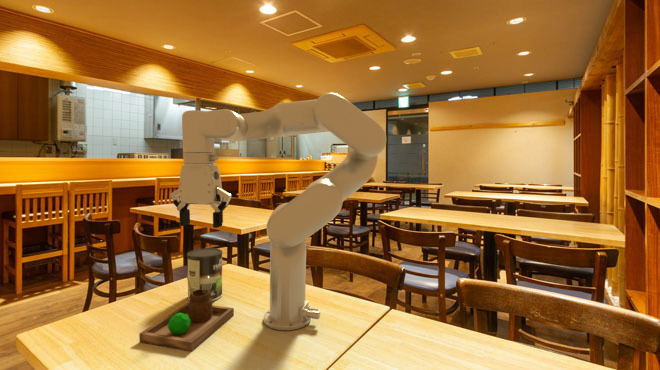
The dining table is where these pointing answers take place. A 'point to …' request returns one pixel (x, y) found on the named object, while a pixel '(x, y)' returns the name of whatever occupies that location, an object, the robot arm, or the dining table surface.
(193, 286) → the coffee can
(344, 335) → the dining table surface
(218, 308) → the tray
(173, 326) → the polyhedron
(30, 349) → the dining table surface
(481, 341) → the dining table surface
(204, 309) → the utensil holder
